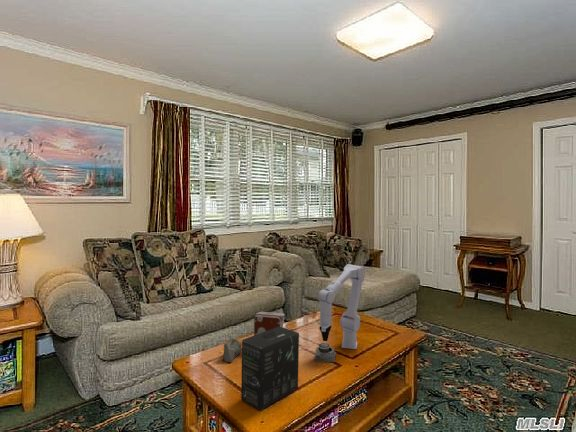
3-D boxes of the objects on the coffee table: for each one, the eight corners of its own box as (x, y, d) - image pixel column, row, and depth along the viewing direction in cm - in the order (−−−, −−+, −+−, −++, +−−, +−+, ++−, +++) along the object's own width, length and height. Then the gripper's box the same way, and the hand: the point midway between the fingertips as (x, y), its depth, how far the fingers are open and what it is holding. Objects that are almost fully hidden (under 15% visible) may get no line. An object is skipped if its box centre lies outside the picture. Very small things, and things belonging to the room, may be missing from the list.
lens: (320, 352, 180) (320, 342, 179) (330, 353, 178) (330, 343, 178) (318, 356, 175) (318, 346, 175) (328, 357, 173) (328, 347, 173)
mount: (316, 351, 182) (316, 344, 182) (336, 353, 180) (336, 346, 180) (313, 360, 173) (313, 352, 173) (333, 362, 170) (333, 354, 170)
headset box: (278, 378, 155) (279, 320, 154) (299, 388, 147) (300, 327, 146) (239, 399, 138) (240, 335, 137) (261, 412, 130) (261, 344, 129)
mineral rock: (239, 350, 183) (239, 331, 183) (250, 357, 175) (250, 338, 174) (216, 356, 176) (216, 336, 175) (226, 364, 167) (226, 344, 167)
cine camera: (289, 357, 176) (290, 318, 175) (252, 353, 179) (252, 315, 178) (293, 349, 185) (293, 312, 184) (257, 346, 188) (258, 309, 187)
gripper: (320, 309, 183) (319, 334, 184) (315, 318, 169) (315, 345, 170) (333, 310, 182) (333, 335, 182) (330, 319, 168) (329, 347, 168)
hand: (325, 340), depth 176 cm, fingers closed
